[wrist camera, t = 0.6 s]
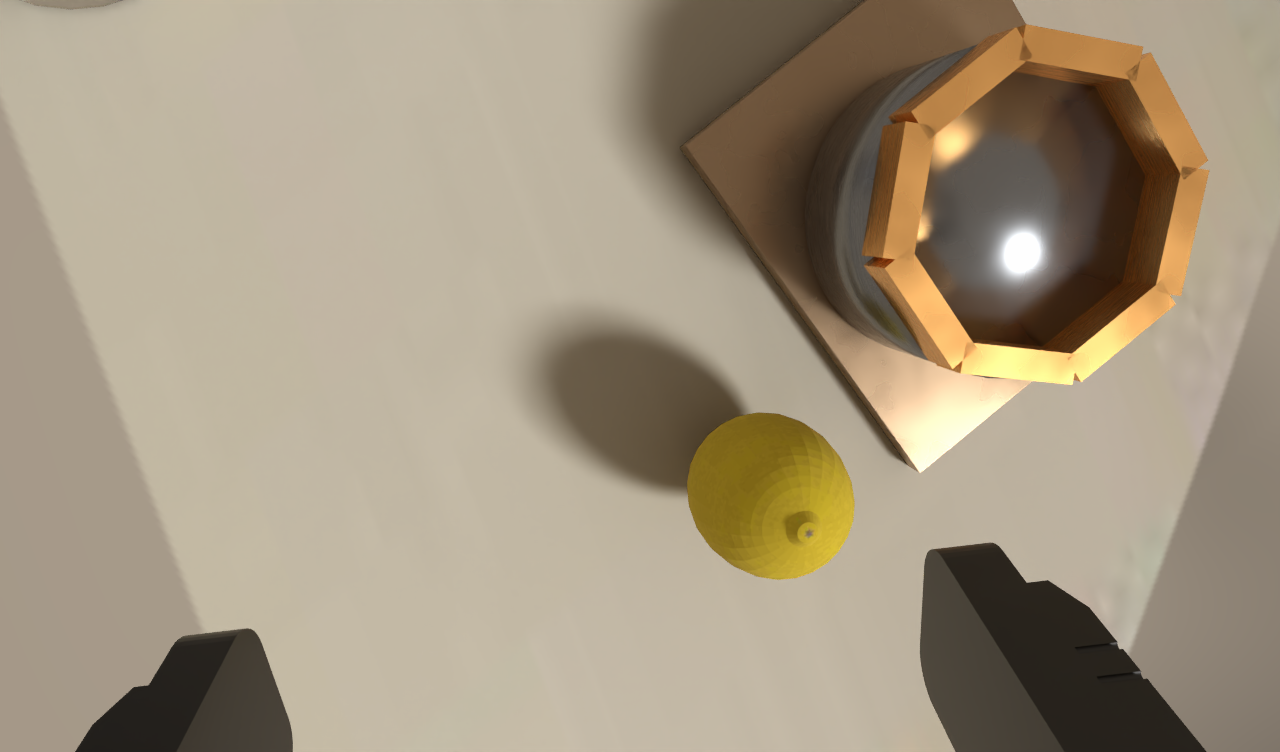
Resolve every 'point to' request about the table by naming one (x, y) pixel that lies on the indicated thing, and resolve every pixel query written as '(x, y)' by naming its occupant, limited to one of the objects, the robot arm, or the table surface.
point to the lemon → (770, 496)
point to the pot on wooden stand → (961, 204)
